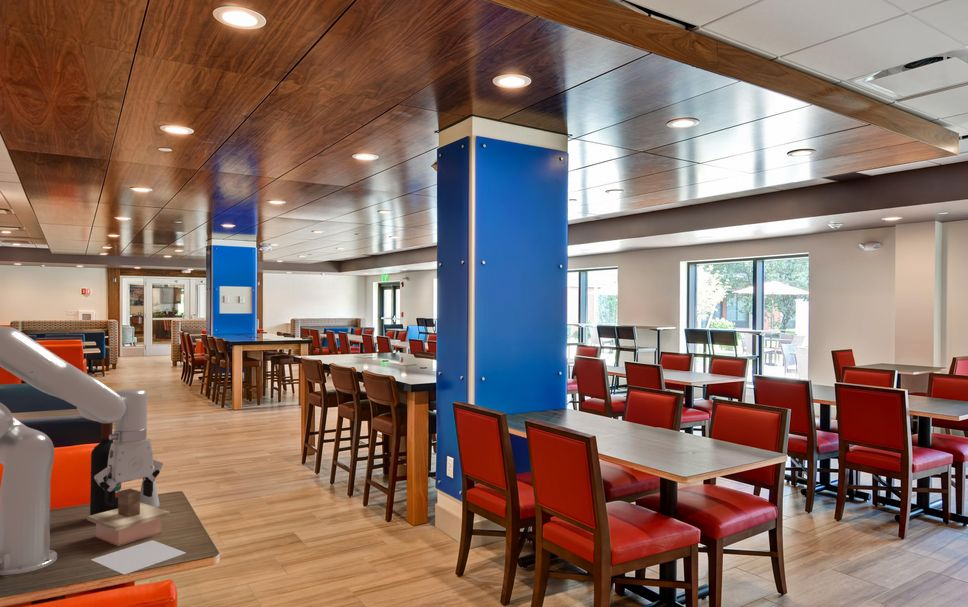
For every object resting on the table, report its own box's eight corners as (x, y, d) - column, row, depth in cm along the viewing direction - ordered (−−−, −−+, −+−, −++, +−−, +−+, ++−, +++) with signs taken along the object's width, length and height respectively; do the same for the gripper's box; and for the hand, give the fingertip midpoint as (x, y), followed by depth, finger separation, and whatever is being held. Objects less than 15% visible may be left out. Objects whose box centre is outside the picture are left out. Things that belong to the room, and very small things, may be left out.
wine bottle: (101, 513, 182) (103, 411, 182) (126, 514, 181) (128, 411, 182) (83, 522, 174) (85, 415, 174) (109, 523, 174) (111, 416, 174)
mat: (124, 576, 140) (124, 574, 140) (90, 561, 148) (90, 559, 148) (186, 554, 152) (186, 552, 152) (152, 541, 160) (152, 540, 160)
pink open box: (118, 547, 156) (118, 527, 156) (96, 538, 162) (96, 519, 162) (160, 534, 165) (161, 515, 165) (138, 526, 171) (138, 508, 171)
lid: (115, 530, 154) (115, 502, 154) (87, 520, 162) (87, 493, 162) (169, 515, 166) (169, 489, 166) (141, 506, 173) (141, 481, 173)
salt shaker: (163, 510, 185) (164, 467, 185) (151, 517, 179) (152, 472, 179) (145, 509, 185) (145, 466, 185) (132, 516, 180) (133, 471, 180)
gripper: (103, 443, 155) (102, 512, 154) (170, 432, 169) (169, 495, 169) (88, 439, 159) (87, 506, 158) (154, 429, 173) (153, 490, 173)
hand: (129, 500), depth 164 cm, fingers open, 9 cm apart
